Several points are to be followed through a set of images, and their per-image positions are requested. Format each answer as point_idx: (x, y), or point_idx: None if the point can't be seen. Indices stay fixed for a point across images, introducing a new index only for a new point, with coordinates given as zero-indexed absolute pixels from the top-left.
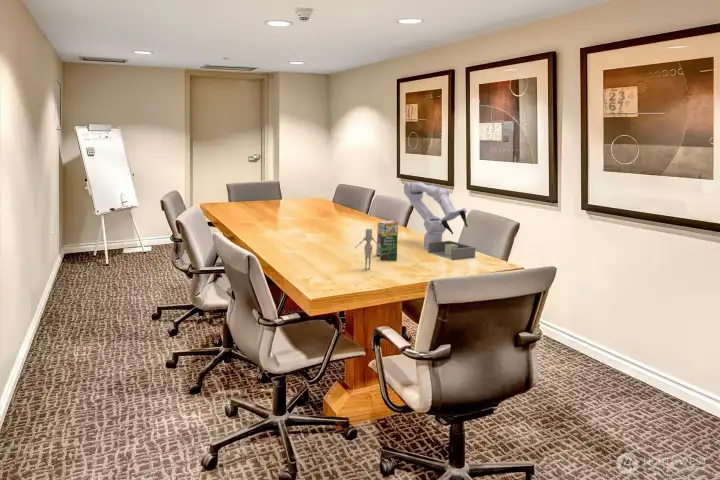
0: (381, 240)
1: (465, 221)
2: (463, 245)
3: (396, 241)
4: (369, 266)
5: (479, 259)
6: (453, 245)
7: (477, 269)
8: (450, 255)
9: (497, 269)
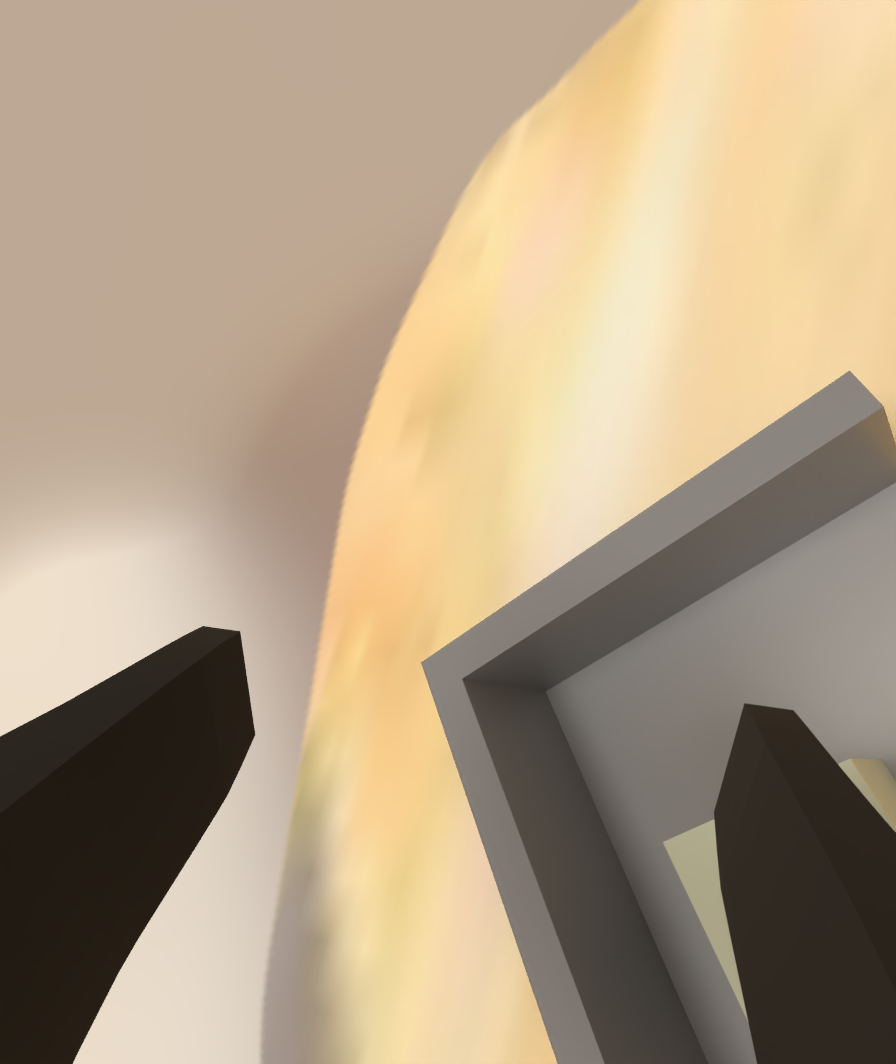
0: None
1: (111, 678)
2: (550, 896)
3: None
4: None
5: None
6: None
7: (628, 131)
8: (881, 763)
9: (453, 228)
